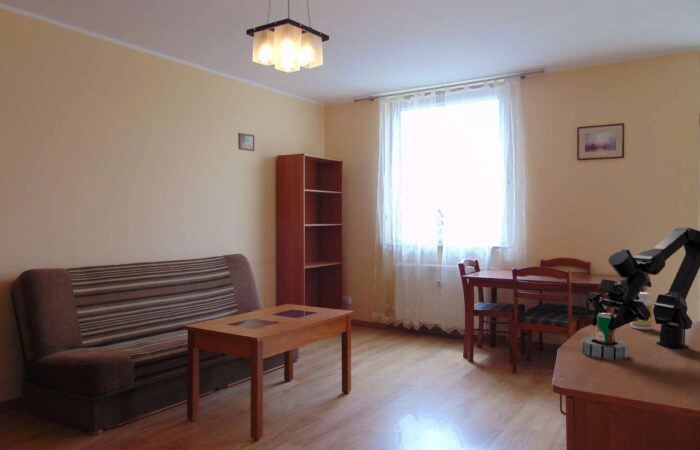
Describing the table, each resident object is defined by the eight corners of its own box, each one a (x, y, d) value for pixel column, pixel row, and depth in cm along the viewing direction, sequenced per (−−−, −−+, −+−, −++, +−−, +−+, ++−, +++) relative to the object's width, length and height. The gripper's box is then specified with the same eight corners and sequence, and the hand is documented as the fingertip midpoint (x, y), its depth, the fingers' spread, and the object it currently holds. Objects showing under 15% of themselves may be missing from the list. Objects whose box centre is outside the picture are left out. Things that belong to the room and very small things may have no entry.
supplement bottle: (654, 330, 185) (655, 294, 184) (633, 329, 186) (634, 293, 185) (647, 326, 191) (648, 291, 191) (627, 325, 192) (628, 290, 192)
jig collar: (606, 347, 160) (606, 336, 160) (636, 358, 149) (637, 346, 149) (572, 349, 157) (573, 338, 157) (601, 360, 146) (601, 348, 146)
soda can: (591, 351, 156) (593, 311, 155) (608, 351, 156) (610, 311, 156) (600, 355, 150) (602, 314, 150) (617, 356, 151) (619, 315, 150)
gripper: (591, 266, 163) (562, 303, 159) (644, 273, 145) (614, 315, 141) (609, 290, 166) (581, 327, 162) (663, 299, 148) (634, 341, 145)
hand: (601, 327), depth 152 cm, fingers open, 6 cm apart
